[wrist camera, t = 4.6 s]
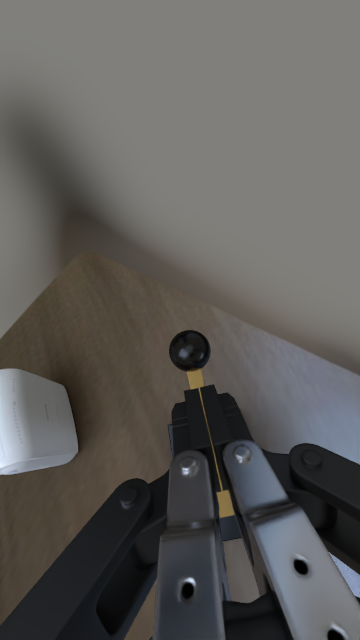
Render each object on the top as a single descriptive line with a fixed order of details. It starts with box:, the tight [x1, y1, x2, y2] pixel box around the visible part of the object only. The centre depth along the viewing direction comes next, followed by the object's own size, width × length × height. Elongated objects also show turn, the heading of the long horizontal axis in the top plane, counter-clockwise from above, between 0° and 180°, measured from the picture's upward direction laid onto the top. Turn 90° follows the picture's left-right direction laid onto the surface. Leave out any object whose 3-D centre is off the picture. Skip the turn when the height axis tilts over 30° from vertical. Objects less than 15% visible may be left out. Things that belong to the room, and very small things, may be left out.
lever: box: [169, 330, 234, 518], centre depth 19 cm, size 14×3×3 cm, turn 11°
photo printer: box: [0, 369, 78, 475], centre depth 28 cm, size 10×4×12 cm, turn 23°
